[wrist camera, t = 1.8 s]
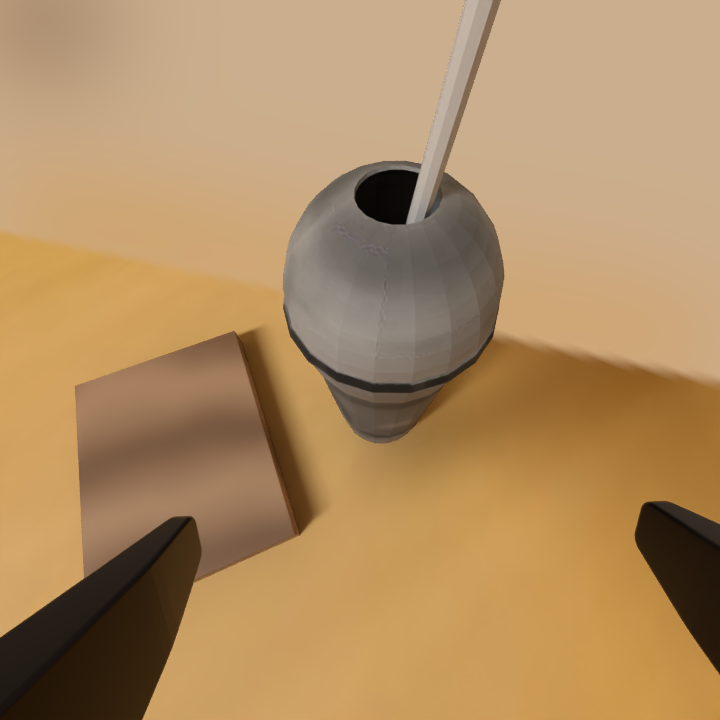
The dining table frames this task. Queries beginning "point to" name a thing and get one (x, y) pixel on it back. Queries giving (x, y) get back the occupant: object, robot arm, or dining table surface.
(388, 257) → the beverage cup
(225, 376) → the walnut board
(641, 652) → the dining table surface
